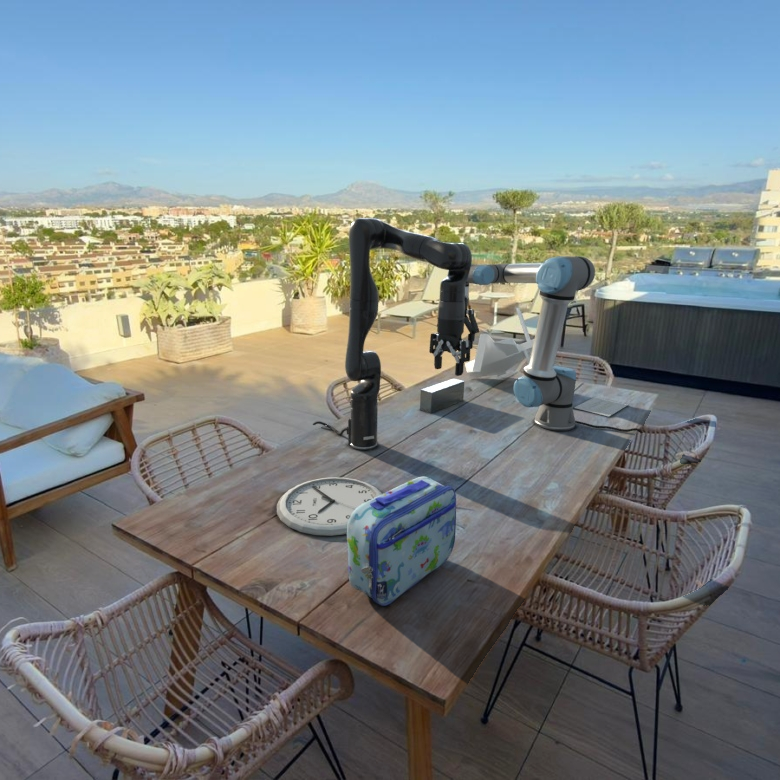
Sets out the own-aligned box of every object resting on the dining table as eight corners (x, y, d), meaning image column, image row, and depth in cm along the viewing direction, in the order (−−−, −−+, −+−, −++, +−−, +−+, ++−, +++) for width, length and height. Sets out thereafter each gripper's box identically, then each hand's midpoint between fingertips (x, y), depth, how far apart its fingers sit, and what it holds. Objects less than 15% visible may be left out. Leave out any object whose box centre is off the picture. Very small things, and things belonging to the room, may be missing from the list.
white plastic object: (486, 419, 265) (465, 396, 240) (467, 347, 287) (447, 319, 262) (557, 395, 253) (543, 369, 228) (532, 321, 275) (517, 290, 250)
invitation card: (608, 416, 214) (573, 407, 224) (608, 416, 214) (573, 408, 224) (628, 404, 229) (594, 396, 238) (628, 405, 229) (594, 397, 238)
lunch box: (376, 619, 101) (377, 524, 95) (340, 592, 109) (339, 502, 102) (459, 562, 119) (465, 479, 113) (424, 542, 126) (427, 463, 120)
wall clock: (392, 527, 129) (268, 531, 127) (391, 533, 130) (269, 537, 127) (383, 473, 158) (282, 475, 155) (383, 478, 158) (282, 480, 156)
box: (452, 397, 235) (453, 378, 233) (463, 400, 232) (464, 381, 229) (419, 409, 219) (420, 389, 216) (430, 413, 215) (431, 392, 212)
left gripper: (424, 314, 150) (422, 368, 155) (459, 321, 140) (456, 379, 145) (443, 312, 155) (440, 365, 160) (479, 319, 144) (475, 375, 149)
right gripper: (430, 294, 223) (428, 343, 229) (479, 300, 207) (476, 352, 213) (440, 292, 228) (438, 340, 234) (490, 298, 212) (486, 349, 218)
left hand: (448, 372), depth 152 cm, fingers open, 8 cm apart
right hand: (456, 346), depth 224 cm, fingers open, 13 cm apart
